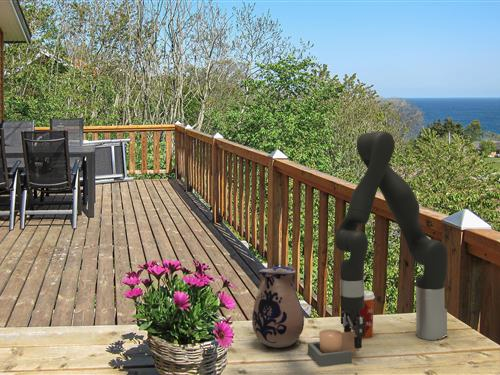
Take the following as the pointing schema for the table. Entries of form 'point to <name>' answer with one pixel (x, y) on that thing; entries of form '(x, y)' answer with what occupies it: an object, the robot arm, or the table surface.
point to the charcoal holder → (328, 356)
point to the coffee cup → (368, 312)
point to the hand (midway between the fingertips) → (352, 343)
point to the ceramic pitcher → (277, 308)
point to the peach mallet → (336, 341)
